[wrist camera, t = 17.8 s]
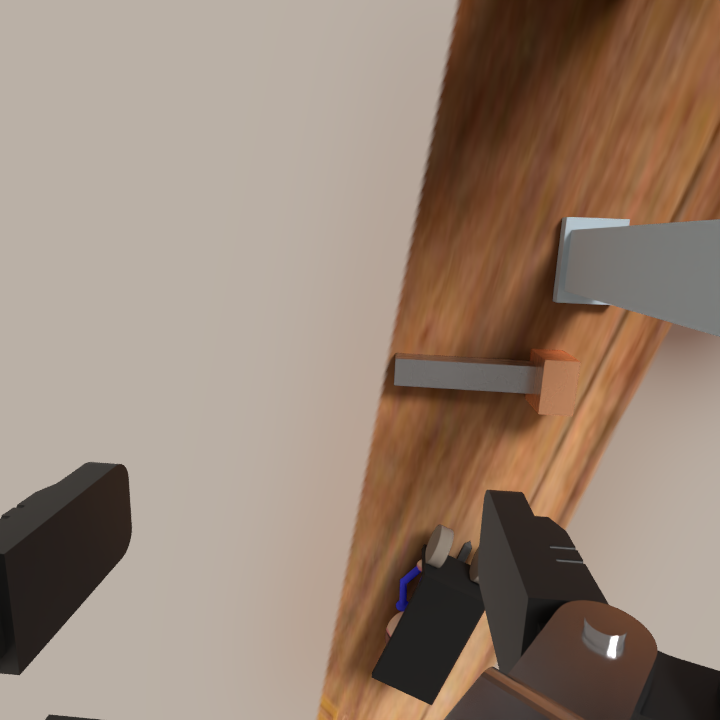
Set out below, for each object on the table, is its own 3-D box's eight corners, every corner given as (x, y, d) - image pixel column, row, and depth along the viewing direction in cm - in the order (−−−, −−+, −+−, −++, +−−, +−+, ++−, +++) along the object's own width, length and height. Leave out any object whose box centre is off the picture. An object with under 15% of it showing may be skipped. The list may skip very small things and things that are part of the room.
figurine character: (429, 501, 52) (369, 630, 54) (438, 535, 44) (368, 685, 46) (491, 527, 52) (429, 655, 54) (511, 566, 45) (438, 714, 46)
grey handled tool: (396, 341, 47) (396, 351, 43) (563, 350, 46) (580, 361, 42) (393, 389, 48) (393, 404, 44) (556, 399, 47) (572, 416, 43)
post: (562, 217, 44) (965, 157, 13) (623, 220, 44) (1189, 163, 12) (552, 300, 45) (889, 429, 14) (611, 303, 45) (1087, 440, 14)
